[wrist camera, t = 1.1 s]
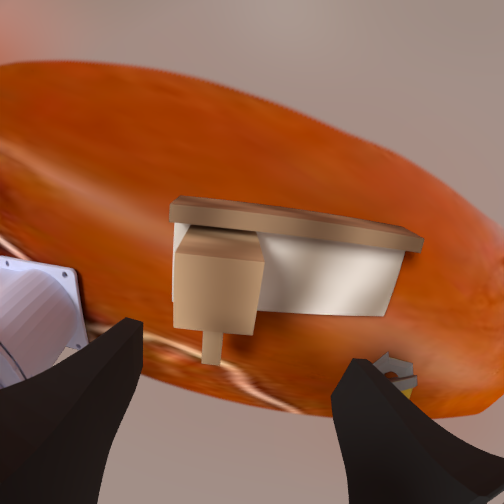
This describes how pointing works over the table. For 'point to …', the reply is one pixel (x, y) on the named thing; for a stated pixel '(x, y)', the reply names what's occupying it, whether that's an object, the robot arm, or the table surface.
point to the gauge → (217, 284)
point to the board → (309, 254)
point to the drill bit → (398, 373)
